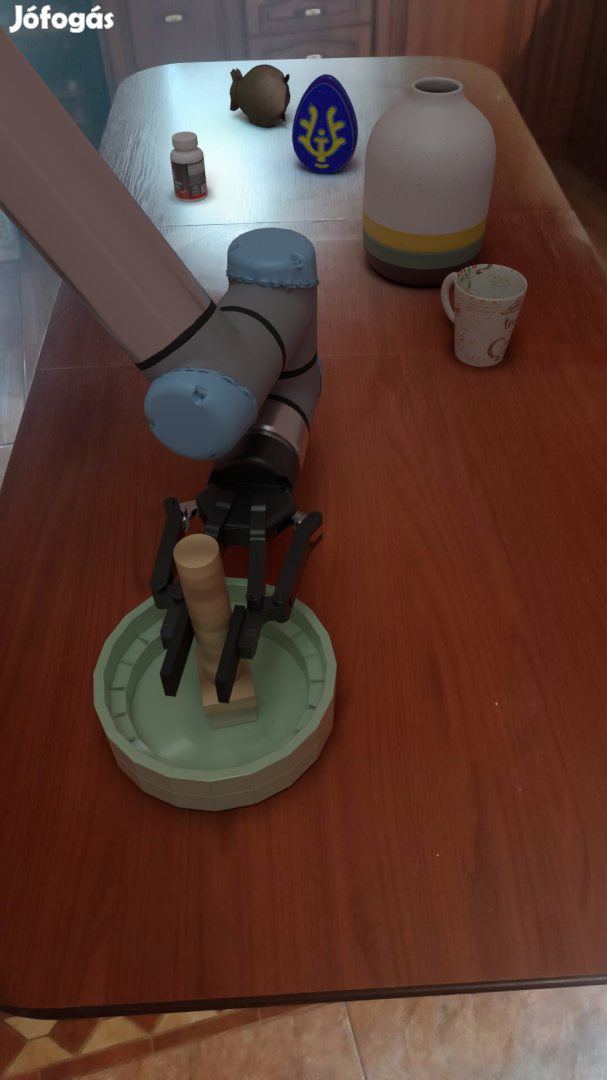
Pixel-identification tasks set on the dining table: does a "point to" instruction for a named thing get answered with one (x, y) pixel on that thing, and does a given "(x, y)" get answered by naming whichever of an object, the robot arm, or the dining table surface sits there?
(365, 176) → the vase
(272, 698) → the bowl
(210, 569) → the brush
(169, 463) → the dining table surface
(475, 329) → the mug
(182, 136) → the pill bottle
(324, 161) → the ornament
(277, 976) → the dining table surface
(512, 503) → the dining table surface
